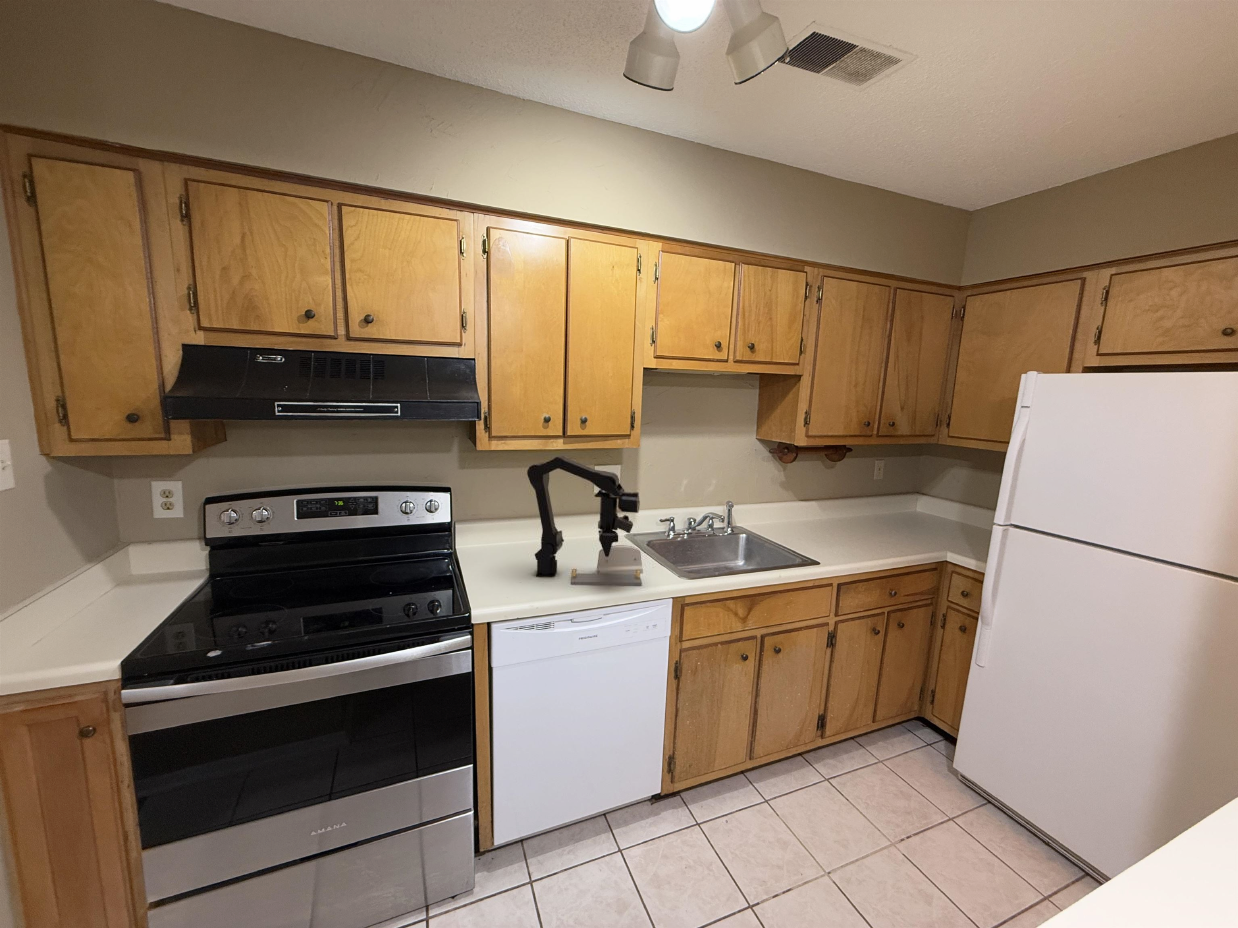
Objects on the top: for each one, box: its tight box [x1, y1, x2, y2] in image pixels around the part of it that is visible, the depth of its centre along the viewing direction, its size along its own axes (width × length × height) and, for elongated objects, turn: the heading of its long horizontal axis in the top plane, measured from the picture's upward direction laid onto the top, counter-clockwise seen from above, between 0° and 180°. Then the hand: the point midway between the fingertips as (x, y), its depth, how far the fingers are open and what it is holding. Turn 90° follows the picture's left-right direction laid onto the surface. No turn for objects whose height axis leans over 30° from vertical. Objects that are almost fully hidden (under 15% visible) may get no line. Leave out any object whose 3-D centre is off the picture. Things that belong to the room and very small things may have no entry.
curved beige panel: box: [596, 544, 644, 575], centre depth 183 cm, size 17×5×10 cm, turn 103°
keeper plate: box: [570, 568, 643, 587], centre depth 173 cm, size 24×8×4 cm, turn 94°
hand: (606, 554), depth 172 cm, fingers open, 4 cm apart
